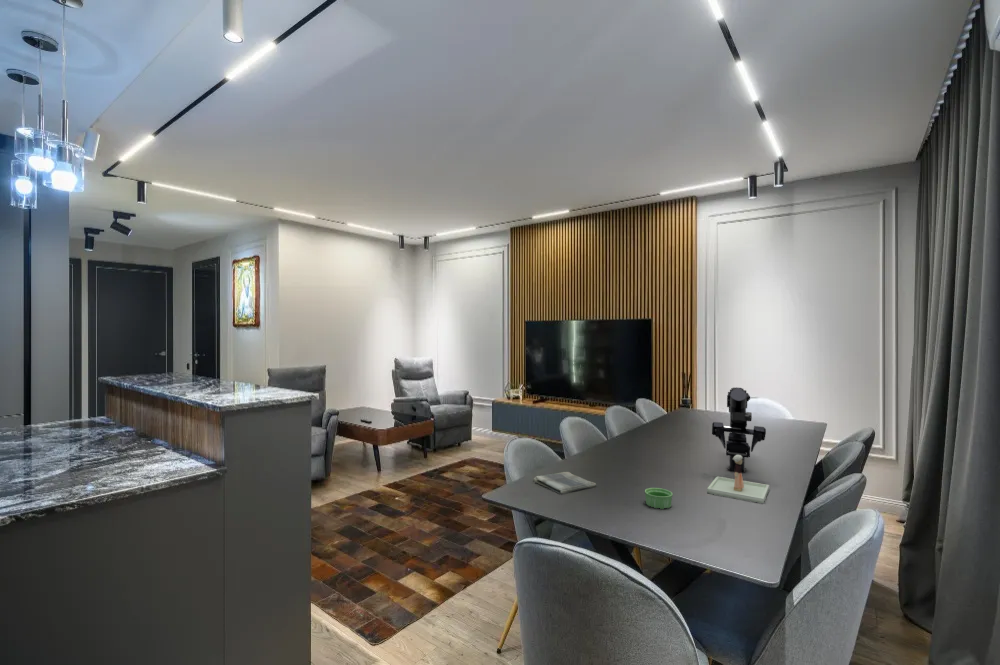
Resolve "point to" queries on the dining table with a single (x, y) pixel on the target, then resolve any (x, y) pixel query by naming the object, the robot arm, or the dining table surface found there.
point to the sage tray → (748, 493)
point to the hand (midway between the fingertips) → (738, 449)
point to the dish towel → (563, 482)
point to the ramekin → (658, 498)
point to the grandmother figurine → (738, 473)
